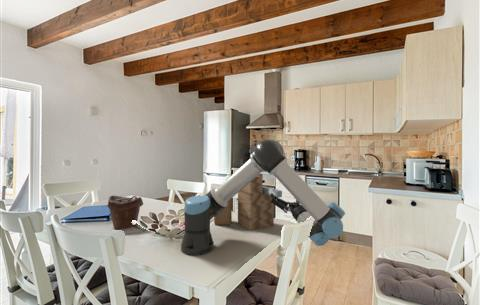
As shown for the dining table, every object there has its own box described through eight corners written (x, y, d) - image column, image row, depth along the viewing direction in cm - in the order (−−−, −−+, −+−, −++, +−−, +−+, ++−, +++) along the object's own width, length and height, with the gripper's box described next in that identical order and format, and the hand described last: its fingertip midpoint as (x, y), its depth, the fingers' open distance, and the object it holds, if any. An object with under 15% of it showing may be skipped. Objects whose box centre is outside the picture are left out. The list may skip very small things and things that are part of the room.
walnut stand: (250, 229, 140) (250, 174, 140) (237, 222, 154) (237, 172, 154) (273, 225, 148) (273, 173, 147) (259, 218, 162) (259, 171, 161)
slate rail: (276, 197, 135) (276, 191, 135) (252, 190, 158) (252, 184, 158) (281, 197, 136) (281, 190, 136) (257, 189, 160) (257, 184, 160)
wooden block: (216, 220, 159) (216, 189, 158) (231, 220, 158) (231, 189, 158) (213, 225, 149) (213, 192, 148) (230, 225, 149) (230, 192, 148)
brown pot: (148, 224, 149) (147, 195, 149) (112, 232, 136) (111, 200, 136) (137, 218, 163) (137, 191, 162) (103, 225, 149) (103, 196, 149)
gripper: (279, 226, 115) (258, 196, 131) (318, 218, 127) (295, 192, 143) (284, 214, 112) (262, 185, 128) (324, 207, 124) (299, 182, 140)
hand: (279, 188), depth 136 cm, fingers open, 13 cm apart
